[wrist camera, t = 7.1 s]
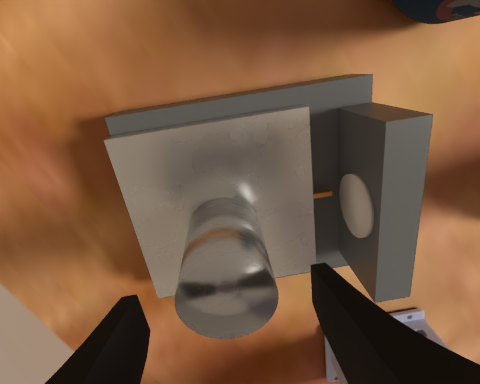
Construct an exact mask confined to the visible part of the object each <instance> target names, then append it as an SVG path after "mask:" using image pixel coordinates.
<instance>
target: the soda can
mask: <svg viewBox="0 0 480 384" xmlns="http://www.w3.org/2000/svg"><path fill="white" fill-rule="evenodd" d="M393 1H394V3H395V4H396V6H397V7H398V8H399V9H400V10H401V11H402V12H403V13H404V14H405V15H407V16H408V17H410V18H411V19H414V20H416V21H419V22H422V23H427V24H440V23H445V22H450V21H455V20H459V19H464V18H469V17H473V16H478V15H480V0H393Z"/></svg>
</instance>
